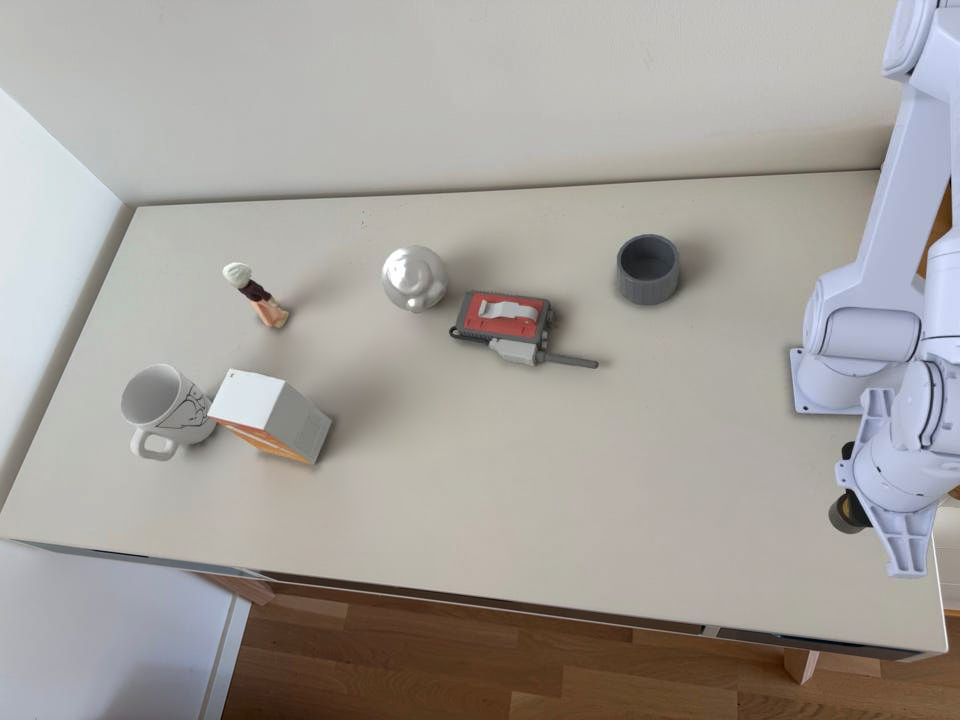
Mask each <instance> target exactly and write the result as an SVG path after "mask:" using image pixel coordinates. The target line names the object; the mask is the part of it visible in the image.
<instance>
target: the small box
mask: <svg viewBox="0 0 960 720" xmlns="http://www.w3.org/2000/svg"><path fill="white" fill-rule="evenodd" d="M211 403H212V405H211V407H210V410H209V412H208V414H207V416H208V417H210V418H211V419H213V420H214V421H216V422H217V423H218V424H219V425H221V426H222V427H223V428H225V429H227V430H228V431H230V432H231V433H233V434H234V435H236V436H237V437H239V438H241V439H242V440H244V441H245V442H247V443H248V444H250V445H251V446H253V447H254V448H256V449H257V450H259V451H261V453H264V454H265V453H266V454H271V455H275V456H278V457H282V458H283V457H284V458H287V459H291V460H295V461H298V462H302V463H304V464H305V463H306V464H309V465H312V466H314V465H315V464H316V462H317V460H318V457H319V455H320V452H321V450H322V447H323V445H324V443H325V440H326V438H327V435H328V433H329V431H330V428H331V425H332V423H333V420H332V419H331V418H329V417H328V416H327V415H326V414H325V413H323V412H322V411H321V410H320V409H319V408H318V406H317V407H316V405H314V404H313V403H312V402H311V401H310V400H309V399H308V398H306V397H305V396H304V395H303V394H302V392H299V391H298V390H297V389H296V388H295V387H294V386H293V385H292V384H291V383H290V382H288V381H287V380H285V379H281V378H277V377H274V376H269V375H265V374H261V373H258V372H252V371H246V370H242V369H237V368H233V367H231V368H229V369H228V371H227V373H226V375H225V377H224V379H223V381H222V382H221V385H220V387H219V389H218V391H217V393H216V395H215V397H214V399H213V402H211Z"/></svg>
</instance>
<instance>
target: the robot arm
mask: <svg viewBox="0 0 960 720" xmlns="http://www.w3.org/2000/svg"><path fill="white" fill-rule="evenodd" d="M884 48H885V49H884V52H883V55H882V62H881V63H882V64H881V67H882V70H881V76H882V78H884V79H888V80H892V81H894V82H899V83H901V84H902V85H901V101H900V105H899V109H898V111H897V117H896V120H895V123H894V127H893V130H892V134H891V137H890V141H889V144H888V147H887V151H886V153H885V154H886V155H885V158H884V162H883V165H882V169H881V172H880V176H879V178H878V182H877V186H876V190H875V193H874V196H873V200H872V204H871V207H870V211H869V215H868V217H867V221H866V224H865V228H864V232H863V235H862V239H861V242H860V246H859V249H858V251H857V256H856V259H855V260H853V261H851V262H849V263H846V264H844V265H841V266H838V267H836V268H834V269H833V268H832V269H831V270H828V271H827V272H824V273H822V274H820V275H819V277H818V280H817V281H815V285H814V288H813V292H812V294H811V296H810V297H809V298H808V300H807V304H806V307H805V310H804V311H805V312H804V317H803V324H802V346H803V347H792V348H791V349H790V350H789V359H790V369H791V379H792V389H793V398H794V399H793V400H794V408H795V409H794V410H795V411H796V413H798V414H806V415H807V414H811V415H847V416H848V415H851V416H852V415H853V416H855V415H856V416H861V419H860V423H859V428H858V430H857V433H856V437H855V440H852V441H848V442H846V443H844V444H843V446H842V447H841V458H842V459H841V460H840V459H839V460H838V461H837V462H836V463H835V464H834V466H833V469H834V478H835V483H836V485H837V486H838V487H839V488H842V489H845V493H846V496H848V503H849V520H850V522H851V523H853V524H854V525H857V526H861V527H866V528H871V529H873V528H874V531H875V533H876V534H877V536H878V538H879V539H880V542H881V543H882V545H883V547H884V549H885V551H886V553H887V556H888V558H889V561H888V562H887V563H886V564H885V565H886V567H885V568H886V573H887V577H888V578H894V579H895V578H896V579H907V580H909V579H910V580H920V579H922V578H924V577H927V576H928V575H929V571H928V561H927V559H928V550H929V545H930V541H931V537H932V533H933V528H934V525H935V519H936V515H937V512H938V511H937V510H938V507H939V503H940V499H941V497H943V496H945V495H946V494H947V493H949V492H950V491H952V490H953V489H955V488H956V487H958V486H960V0H897V2H896V5H895V9H894V14H893V17H892V20H891V25H890V29H889V33H888V36H887V41H886V44H885V47H884ZM950 181H951V218H952V219H951V221H952V224H951V225H952V226H951V228H950V229H949V231H947V232H946V233H945V234H944V235H942V236H941V237H940V238H938V239H937V240H936V241H934V243H933V244H932V245H930V246H929V249H928V251H927V259H926V260H927V261H926V272H925V273H926V275H925V278H924V277H922V276H921V275H920V274H918V273H917V271H918V270H919V266H920V263H921V260H922V259H923V255H924V252H925V249H926V246H927V244H928V241H929V238H930V235H931V232H932V230H933V227H934V224H935V221H936V218H937V215H938V212H939V209H940V207H941V204H942V201H943V198H944V195H945V193H946V190H947V188H948V185H949V182H950ZM799 352H800V353H799ZM804 408H806V409H804Z"/></svg>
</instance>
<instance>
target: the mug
mask: <svg viewBox="0 0 960 720" xmlns="http://www.w3.org/2000/svg"><path fill="white" fill-rule="evenodd" d="M212 403H213V402H212V401H211V400H210V399H209V397H207V396H206V394H205V393H204V392H203V391H202V390H201V388H199V387H198V385H196V384H195V383H194V381H192V380H190V378H188V377H187V376H186V375H184V374H183V372H181V371H180V370H179V369H178V368H176V367H174V366H173V365H171V364H167V363H154V364H151V365H147V366H146V367H144V368H142V369H140V370H139V371H138V372H136V373H135V374H134V375H133V376H132V377H131V378H130V379H129V381H128V382H127V384H126V385H125V387H124V388H123V390H122V393H121V396H120V400H119V409H120V413H121V415H122V417H123V419H124V420H125V421H126V422H127V423H128V424H130V425H132V426H133V427H135V428H136V431H135V432H134V434H133V435H132V437H131V441H130V451H131V453H132V454H133V455H135V456H137V457H139V458H142V459H145V460H154V461H157V462H167V461H169V460H171V459H172V458H173V457H174V456H175V454H176V452H177V451H178V448H179V445H180V444H187V445H192V444H198V443H200V442H203V441H204V440H205V439H207V438H208V437H209V436H210V435H211V434H212V433H213V432H214V430H215V428H216V427H217V423H218V422H216V421H214V420H213V419H211V418H210V417H208V416H207V414H208V412H209V410H210V407H211V405H212ZM152 435H154V436H157V437H160V438H164V439H165V440H166V445H165V447H164V449H163V451H161V452H160V451H156V450H150V449H147V448H145V444H146V441H147V439H148V438H149V437H150V436H152Z"/></svg>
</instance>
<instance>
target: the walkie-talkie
mask: <svg viewBox="0 0 960 720" xmlns="http://www.w3.org/2000/svg"><path fill="white" fill-rule="evenodd" d="M556 318H557V311H556V309H553V307H552V304H551V301H550V300H549V299H548V298H542V297H534V296H527V295H526V296H525V295H518V294H514V295H513V294H509V293H501V292H493V291H486V290H483V291H482V290H477V289H471V290H469V291H466V292H465V294H464V297H463V299H462V302H461V306H460V308H459V312H458V315H457V318H456V321H455V325H453V326H451V327H449V330H448V334H449V336H450V337H451V338H452V339H455V340H460V341H461V340H462V341H467V342H474V343H479V344H480V343H481V344H484V345H486V347H489V349H490V350H494V351H495V352H497V353H498V354H499V356H501V358H502V359H503V360H504V361H507V362H514V363H519V364H525V365H528V366H530V367H531V366H532V367H534V366H535V364H536V362H538V363H539V362H540V363H545V362H547V363H553V364H560V365H565V366H572V367H579V368H580V367H581V368H586V369H593V370H595V369H598V368H599V365H600V364H599V362H598V361H597V360H593V359H587V358H586V359H585V358H580V357H575V356H574V357H573V356H566V355H560V354H555V353H548V352H546V351H542V350H544V349H547V347H548V341H546V340H547V339H548V335H549V334H548V329H549V326H554V325H555V323H556ZM455 331H457V332H458V334H454V332H455Z"/></svg>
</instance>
